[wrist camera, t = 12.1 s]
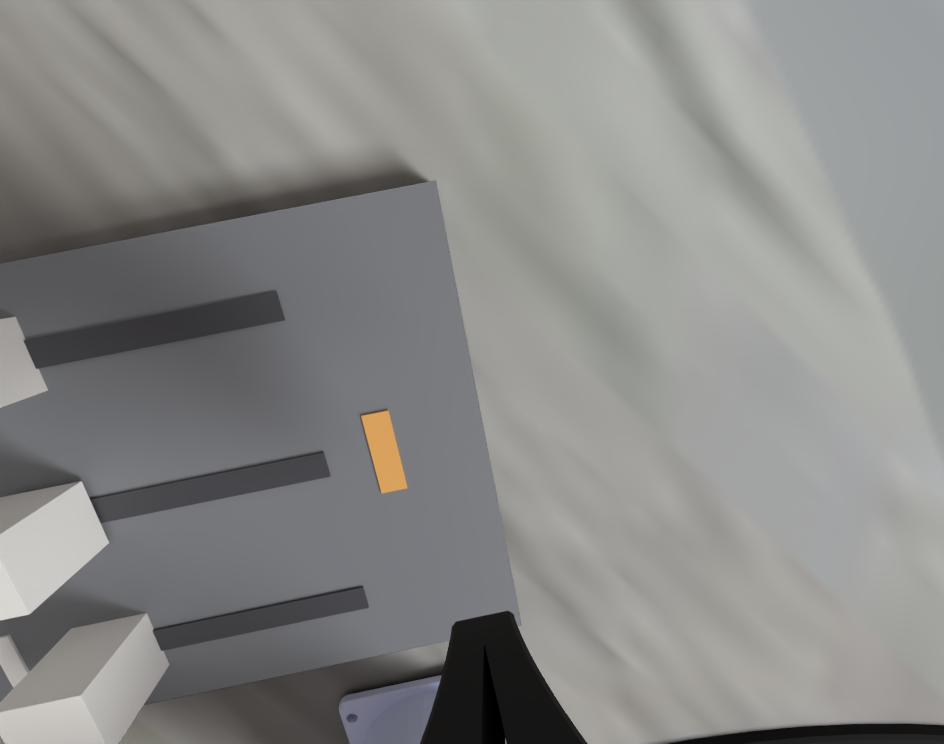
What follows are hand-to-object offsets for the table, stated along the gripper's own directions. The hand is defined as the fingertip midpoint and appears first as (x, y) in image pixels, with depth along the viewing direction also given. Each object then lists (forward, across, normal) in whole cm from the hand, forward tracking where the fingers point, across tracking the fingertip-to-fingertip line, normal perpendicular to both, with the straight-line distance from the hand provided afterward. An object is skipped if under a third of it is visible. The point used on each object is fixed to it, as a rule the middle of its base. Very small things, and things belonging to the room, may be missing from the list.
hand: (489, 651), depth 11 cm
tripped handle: (+8, +15, -2) cm, 17 cm away
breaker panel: (+9, +11, -2) cm, 15 cm away
